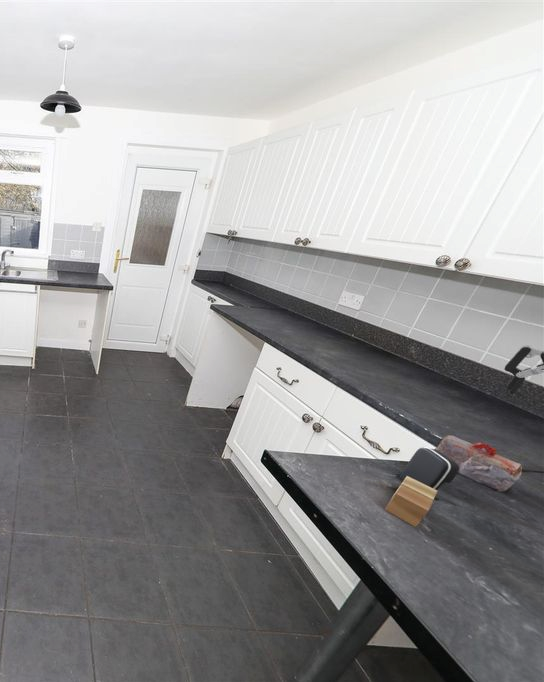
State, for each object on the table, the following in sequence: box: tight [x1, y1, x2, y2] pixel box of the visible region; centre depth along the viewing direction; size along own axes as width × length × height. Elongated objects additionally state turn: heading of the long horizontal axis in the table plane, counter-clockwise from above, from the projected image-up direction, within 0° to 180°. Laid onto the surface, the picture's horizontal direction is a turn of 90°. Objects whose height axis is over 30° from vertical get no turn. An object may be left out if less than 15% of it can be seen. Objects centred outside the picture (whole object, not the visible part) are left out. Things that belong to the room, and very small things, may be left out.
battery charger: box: [398, 447, 459, 491], centre depth 79 cm, size 7×4×11 cm, turn 172°
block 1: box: [390, 476, 438, 502], centre depth 77 cm, size 5×5×5 cm
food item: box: [434, 434, 523, 492], centre depth 87 cm, size 14×8×10 cm, turn 31°
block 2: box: [384, 484, 434, 528], centre depth 73 cm, size 5×5×5 cm
